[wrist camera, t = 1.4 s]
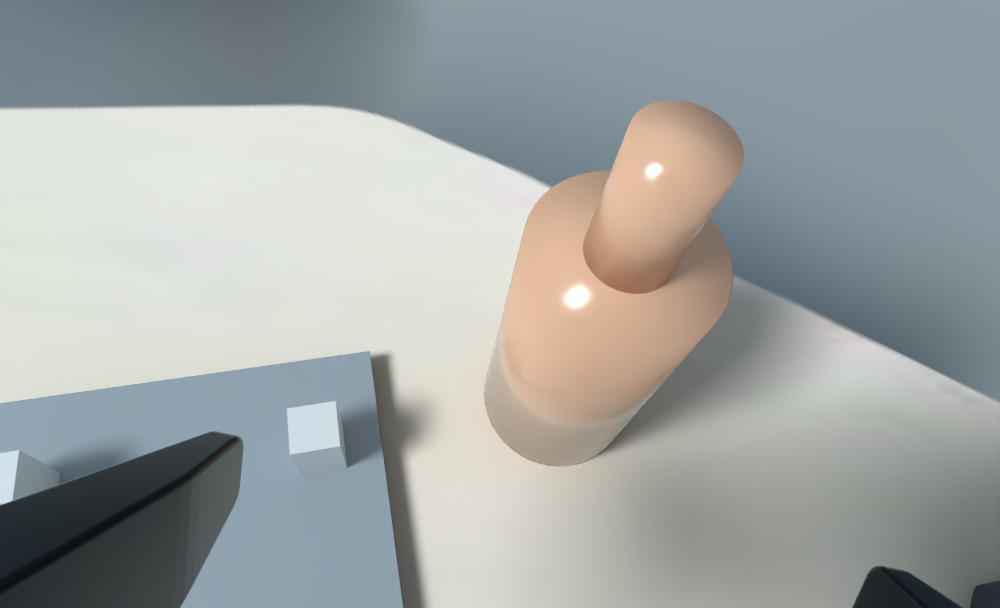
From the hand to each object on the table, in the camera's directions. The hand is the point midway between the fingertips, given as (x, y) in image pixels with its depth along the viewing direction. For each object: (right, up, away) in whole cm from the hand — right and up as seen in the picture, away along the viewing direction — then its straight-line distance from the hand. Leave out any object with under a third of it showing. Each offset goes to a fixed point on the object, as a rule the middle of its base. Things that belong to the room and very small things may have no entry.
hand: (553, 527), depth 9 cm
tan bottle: (+1, 0, +16) cm, 16 cm away
